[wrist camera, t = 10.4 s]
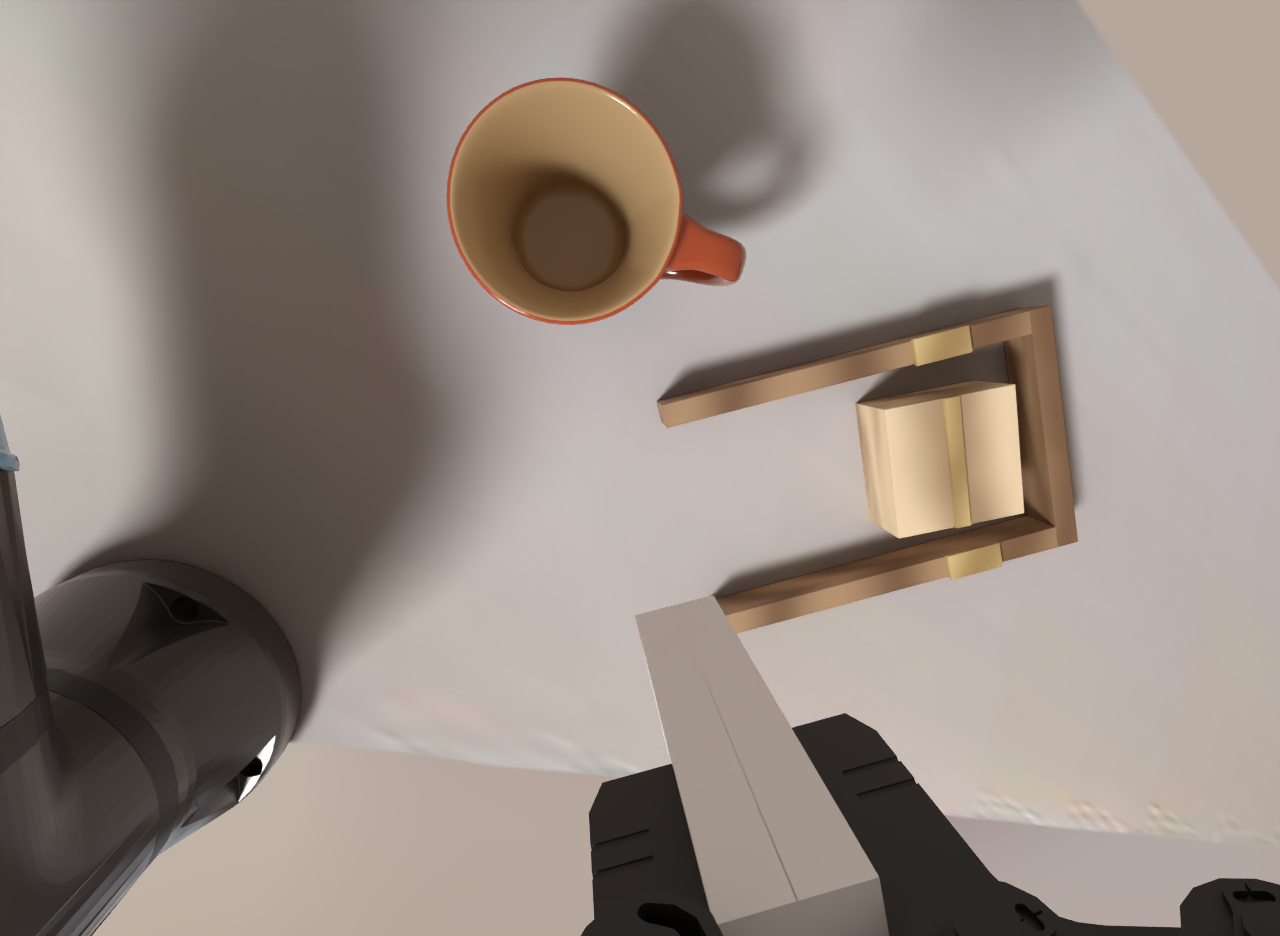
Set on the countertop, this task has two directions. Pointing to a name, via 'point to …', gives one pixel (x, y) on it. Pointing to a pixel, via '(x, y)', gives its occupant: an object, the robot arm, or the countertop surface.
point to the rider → (941, 457)
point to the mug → (575, 205)
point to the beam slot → (944, 557)
